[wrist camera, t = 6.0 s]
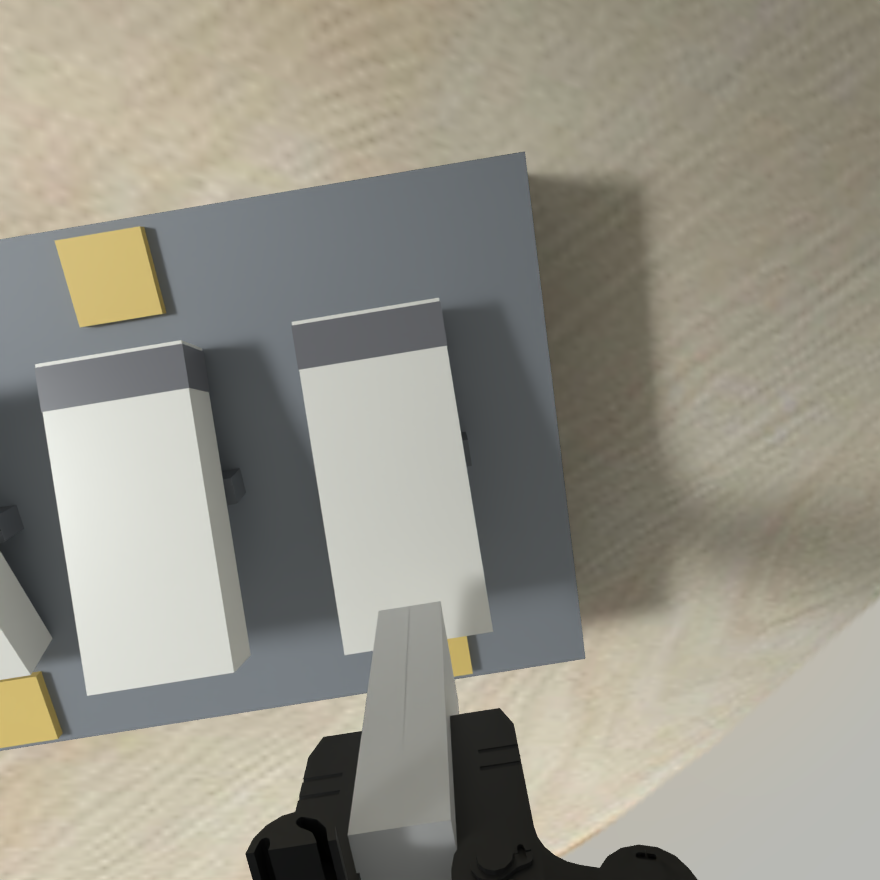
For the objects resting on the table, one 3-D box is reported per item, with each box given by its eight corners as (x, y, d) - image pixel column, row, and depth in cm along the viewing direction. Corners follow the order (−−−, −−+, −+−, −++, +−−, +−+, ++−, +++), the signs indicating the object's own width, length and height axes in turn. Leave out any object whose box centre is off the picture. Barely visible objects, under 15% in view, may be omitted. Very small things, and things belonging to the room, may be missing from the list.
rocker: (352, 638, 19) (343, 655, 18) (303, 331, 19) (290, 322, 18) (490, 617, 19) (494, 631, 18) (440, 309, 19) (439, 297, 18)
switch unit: (-36, 696, 26) (-138, 790, 22) (-193, 289, 23) (-361, 294, 18) (561, 601, 26) (592, 676, 21) (506, 172, 22) (530, 144, 17)
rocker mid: (115, 676, 19) (85, 696, 18) (66, 370, 19) (33, 364, 18) (251, 654, 19) (234, 672, 18) (202, 348, 19) (181, 339, 18)
